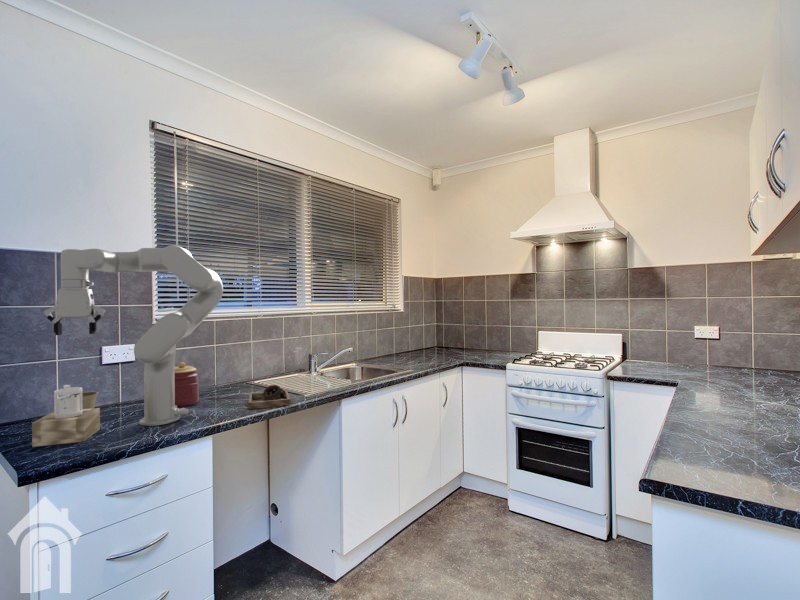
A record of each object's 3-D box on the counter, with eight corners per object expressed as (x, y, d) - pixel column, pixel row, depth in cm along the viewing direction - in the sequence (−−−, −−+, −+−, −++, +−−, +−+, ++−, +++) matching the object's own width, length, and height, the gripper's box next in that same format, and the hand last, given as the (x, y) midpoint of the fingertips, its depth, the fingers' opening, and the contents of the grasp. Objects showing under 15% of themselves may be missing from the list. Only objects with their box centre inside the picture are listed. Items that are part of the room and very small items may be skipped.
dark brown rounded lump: (291, 402, 172) (285, 388, 168) (272, 415, 167) (265, 401, 163) (278, 391, 180) (272, 377, 176) (259, 403, 175) (252, 389, 171)
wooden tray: (287, 395, 182) (287, 390, 182) (290, 405, 165) (290, 399, 165) (249, 398, 177) (249, 393, 177) (248, 409, 160) (248, 402, 160)
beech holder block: (99, 428, 137) (99, 407, 137) (84, 441, 125) (84, 418, 125) (53, 433, 133) (53, 411, 133) (32, 446, 121) (32, 422, 121)
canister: (176, 408, 162) (175, 365, 162) (158, 405, 168) (157, 363, 168) (205, 401, 173) (205, 360, 173) (187, 398, 180) (187, 359, 180)
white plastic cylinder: (79, 427, 134) (79, 382, 134) (85, 431, 129) (85, 385, 129) (52, 433, 128) (51, 386, 129) (57, 437, 124) (56, 389, 124)
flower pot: (69, 422, 145) (69, 398, 145) (64, 417, 151) (64, 394, 152) (101, 416, 152) (100, 394, 152) (95, 412, 158) (95, 390, 158)
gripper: (108, 285, 146) (108, 332, 146) (49, 285, 140) (50, 334, 140) (100, 284, 139) (101, 334, 139) (38, 284, 133) (39, 336, 133)
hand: (75, 334), depth 140 cm, fingers open, 9 cm apart
